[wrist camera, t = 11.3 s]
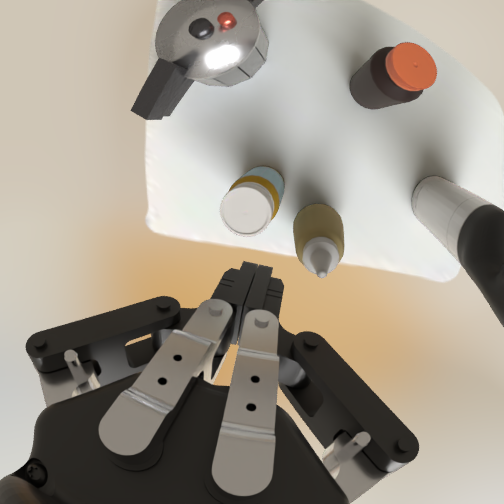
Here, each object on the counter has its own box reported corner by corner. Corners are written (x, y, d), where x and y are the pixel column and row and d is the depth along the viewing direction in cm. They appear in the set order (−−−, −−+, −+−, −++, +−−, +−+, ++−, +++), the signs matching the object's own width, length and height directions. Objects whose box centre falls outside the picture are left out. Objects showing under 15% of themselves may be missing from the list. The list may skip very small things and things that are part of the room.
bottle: (287, 168, 43) (278, 187, 30) (281, 208, 46) (271, 244, 33) (245, 163, 44) (218, 179, 31) (241, 202, 47) (214, 235, 34)
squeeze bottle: (299, 192, 44) (295, 231, 28) (346, 204, 44) (367, 250, 28) (289, 236, 48) (279, 294, 32) (333, 247, 47) (343, 309, 31)
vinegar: (341, 92, 36) (369, 66, 18) (362, 62, 33) (400, 21, 15) (376, 117, 36) (427, 112, 19) (396, 88, 33) (454, 67, 15)
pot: (230, -7, 30) (215, -29, 22) (296, 29, 32) (294, 8, 24) (150, 93, 41) (121, 90, 33) (206, 133, 43) (184, 136, 35)
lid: (195, -17, 23) (183, -29, 19) (282, 15, 25) (278, 1, 21) (122, 96, 33) (103, 95, 29) (195, 138, 34) (181, 140, 30)
